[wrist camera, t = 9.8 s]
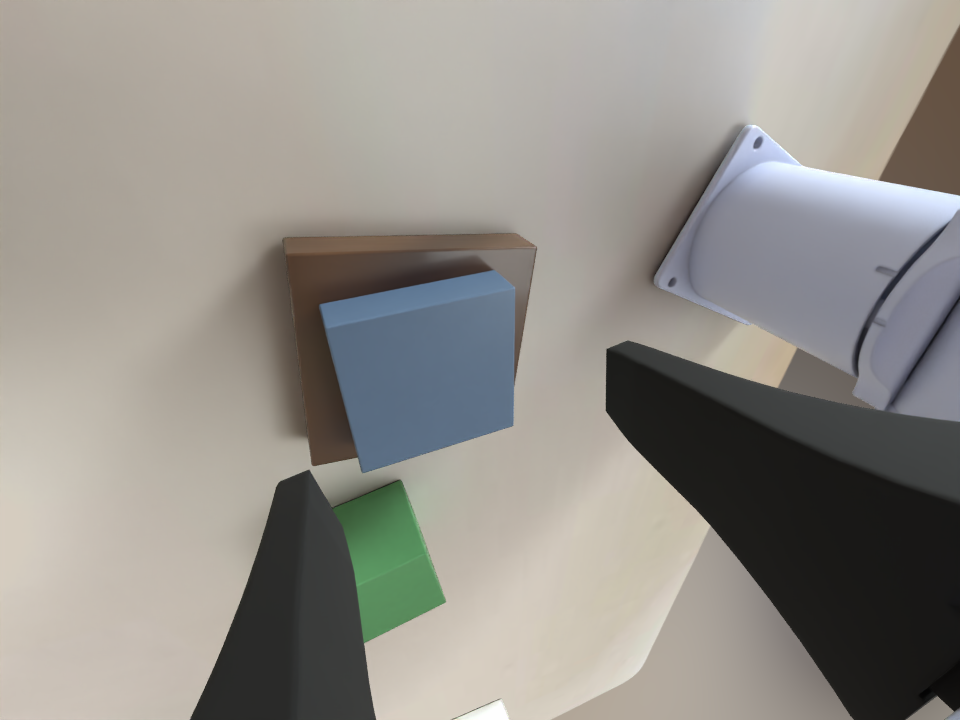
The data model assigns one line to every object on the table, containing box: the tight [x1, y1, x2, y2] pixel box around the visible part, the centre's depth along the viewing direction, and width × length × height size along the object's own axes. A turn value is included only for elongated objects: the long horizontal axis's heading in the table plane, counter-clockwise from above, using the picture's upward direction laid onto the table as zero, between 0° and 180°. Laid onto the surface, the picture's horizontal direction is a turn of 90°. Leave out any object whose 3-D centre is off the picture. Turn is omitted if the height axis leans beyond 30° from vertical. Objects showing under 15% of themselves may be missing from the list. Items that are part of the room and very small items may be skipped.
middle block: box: [319, 270, 515, 473], centre depth 17 cm, size 6×6×2 cm
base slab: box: [283, 234, 537, 466], centre depth 19 cm, size 9×9×2 cm
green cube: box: [333, 480, 446, 643], centre depth 22 cm, size 5×5×5 cm
